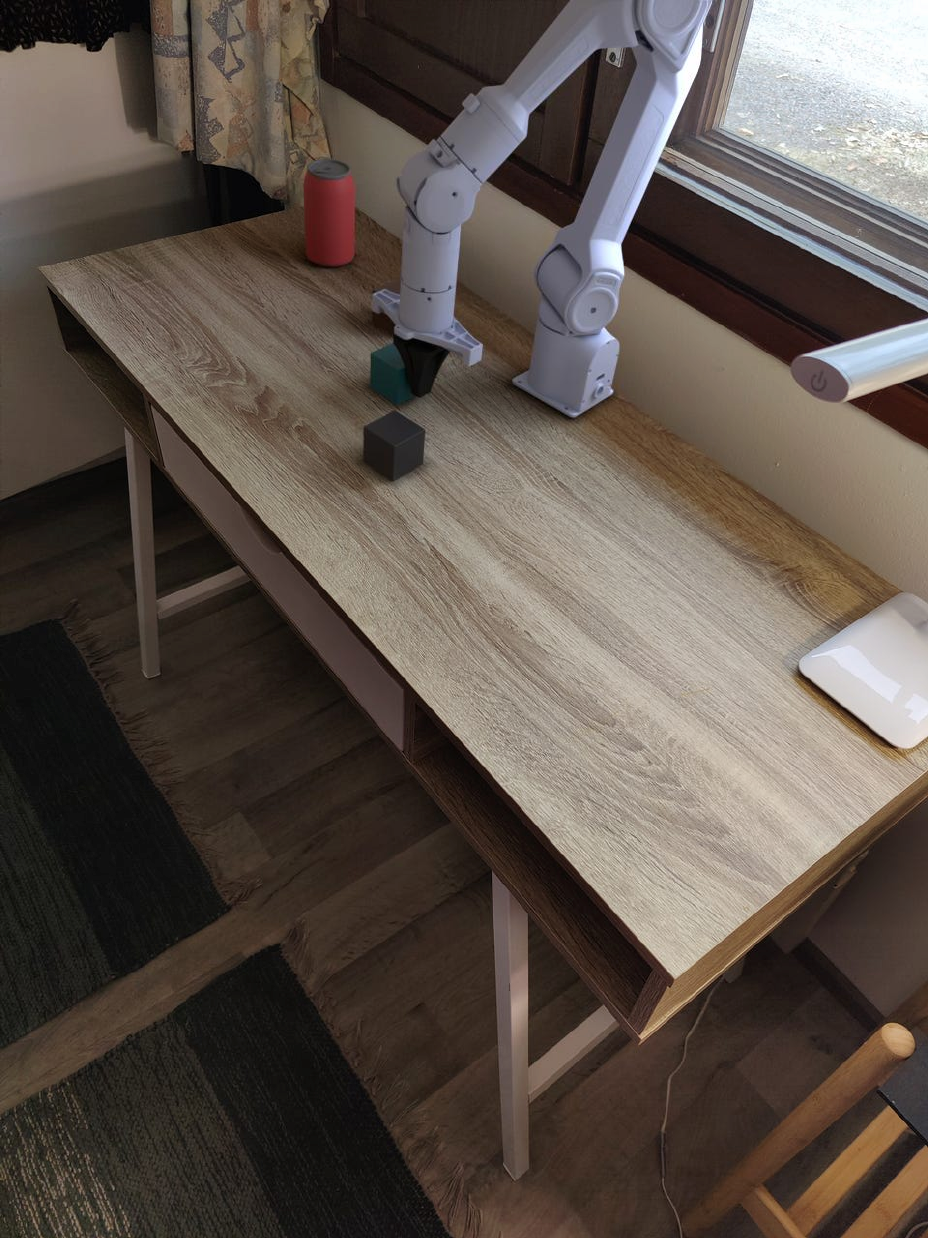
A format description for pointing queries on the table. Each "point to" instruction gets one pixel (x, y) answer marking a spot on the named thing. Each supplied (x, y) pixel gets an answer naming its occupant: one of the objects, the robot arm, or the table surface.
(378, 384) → the teal block
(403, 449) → the charcoal block
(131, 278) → the table surface
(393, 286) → the walnut block
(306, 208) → the beer can
